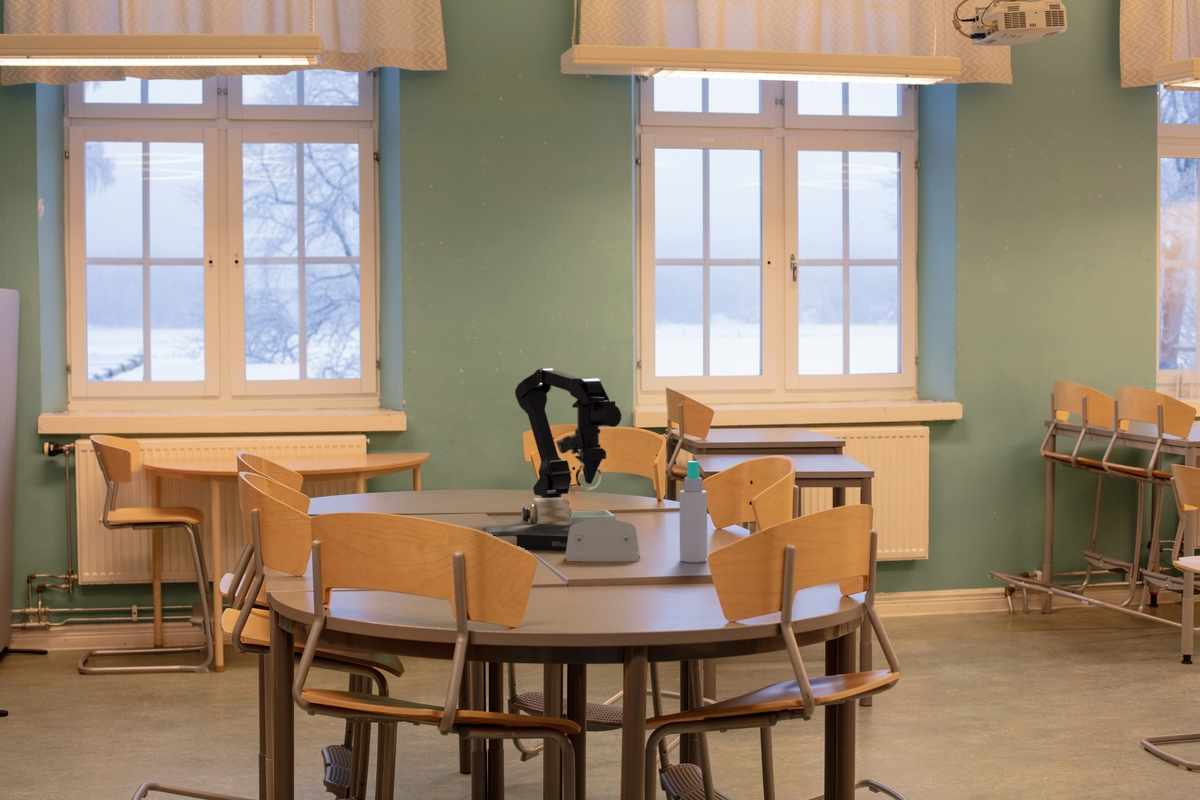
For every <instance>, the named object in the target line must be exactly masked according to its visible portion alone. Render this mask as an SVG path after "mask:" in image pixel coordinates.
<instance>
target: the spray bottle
mask: <svg viewBox="0 0 1200 800" xmlns="http://www.w3.org/2000/svg"><path fill="white" fill-rule="evenodd" d="M686 473H687V476H686V477H684V483H683V487H684V488H683V490H680V491H679V560H680V561H681V562H683V563H689V564H699V563H705V562H706V561H707V560H706V558H707V559H708V491H707V490H703V489H704V488H703V477H701V476H700V463H699V461H698V460H697V461H696V460H688V461H687V471H686Z"/></svg>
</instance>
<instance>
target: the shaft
mask: <svg viewBox="0 0 1200 800" xmlns="http://www.w3.org/2000/svg"><path fill="white" fill-rule="evenodd" d="M571 511H572V508H571V507H569V518H570V517H571ZM536 519H537V509H536V506H535V504H534V503H528V506H525V507H521V520H522V522H528V524H529V525H534V524H536Z"/></svg>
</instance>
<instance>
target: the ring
mask: <svg viewBox="0 0 1200 800" xmlns="http://www.w3.org/2000/svg"><path fill="white" fill-rule="evenodd" d="M584 468H585V467H584V464H583V463H582V465H581V464H580V465H579V466H578V467H577V470H576V471H575V481H576V484H577V485H578V486H579V488H581V489H583V490H585V491H587V492H588V491H589V492H590V491H591V490H595V489H596V488H597V487H598V486H599V485H600V484H601V481H602V471H601V470H600V467H598V469H597V472H596V473H597V474H598V480H597V482H596V484H595V485H592V486H587V487H586V486H584V485H582V484H581V482H580V480H579V475H580V473H581V472H582V471H583V469H584Z"/></svg>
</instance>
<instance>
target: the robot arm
mask: <svg viewBox="0 0 1200 800" xmlns="http://www.w3.org/2000/svg"><path fill="white" fill-rule="evenodd" d="M552 387H554V388H555V387H556V388H558V389H561V390H563V391H567V392H568V393H569V395H570V396H572V397H573V398H575V399H576V401H575V402H574V403H573V404H572V406H571V407H572V408H573V409H577V427H576V428H575V430H574V434H572V435H567V436H564V437H563V438H561V439H558V440H556V441H554V437H553V434H552V430H551V427H550V423H549V420H548V416H547V413H546V405H547V402H548V397H547V396H548V394H549V392H551V390H552ZM514 393H515V398H516V400H517V402H518V405H519V407H520V408H521V410H523V411H524V412H525V413H526V414H527V417H528V420H529V423H530V428H531V430H532V434H533V437H534V440H535V444H536V448H537V451H538V455H539V458H540V465H539V468H538V477H539V478H538V480H537V481H536V483H535V484H534V485H533V486H532V487H533V488H532V489H533V493H534V496H540V498H563V497H562V495H565V494H566V495H568V494H569V491H570V487H571V482H572V476H571V474H572V471H571V469H570V465H569V461H568V460H567V459H563V460H562V458H560V457H559V454H558V451H559V453H561V454H565V453H568V451H571V453H570V454H572V455H575V454H577V455H575V456H574V458H575V459H577V460H578V461H579V463H580V465H582V463H583V464H584V467H585V468H584V469H583V470H582V474H583V477H584V480H585V483H587V484H588V485H591V484H592V483H593V481H594V478H595V476H596V475H597V473H598V472H597V469H598V468H600V464H601V463H602V461H603V460H606V459H607V451H606V450H605V449H604V448H603V447H602V446H601V444H600V434H601V429H600V427H608V428H615V427H617V426H618V425H620V422H621V420H622V412H621V410H620V408H619V407H618V406H617V405H616V401H615V400H610V397H609V396H608V394H607V392H606V390H605V388H604V386H603V384H602V380H601V379H599V378H598V377H577V376H575V375H571V374H568V373H564V372H561V371H558V370H555V369H554V368H551V367H546V368H545V367H543V368H542V367H541V368H538V369H536V370H535V371H534V373H532V374H531V375H529V376H528V377H526V378H524V379H522V380H521V382H519V383H518V384H517V386H516V387H515V390H514ZM555 443H556V444H555ZM556 445H557V446H556ZM556 447H557V448H558V450H557V448H556Z"/></svg>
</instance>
